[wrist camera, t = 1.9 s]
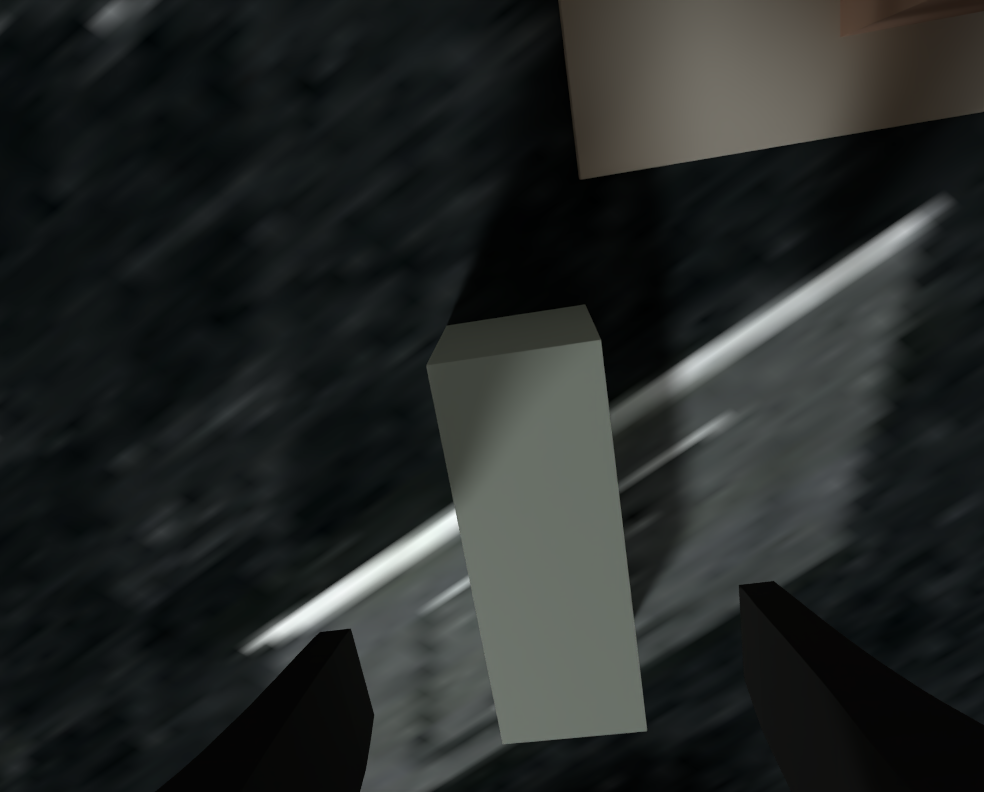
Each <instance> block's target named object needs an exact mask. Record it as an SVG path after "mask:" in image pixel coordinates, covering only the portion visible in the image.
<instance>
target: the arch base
mask: <svg viewBox="0 0 984 792" xmlns="http://www.w3.org/2000/svg"><path fill="white" fill-rule="evenodd" d="M558 3H559V12H560V20H561V29H562V37H563V46H564V54H565V63H566V71H567V80H568V88H569V97H570V106H571V114H572V123H573V131H574V140H575V148H576V157H577V165H578V174H579V179H580V180H582V179H588V178H594V177H599V176H605V175H611V174H617V173H623V172H629V171H635V170H641V169H647V168H653V167H659V166H665V165H671V164H677V163H683V162H688V161H694V160H700V159H706V158H712V157H718V156H724V155H730V154H736V153H742V152H748V151H754V150H760V149H766V148H772V147H777V146H783V145H789V144H795V143H801V142H807V141H813V140H819V139H825V138H831V137H837V136H843V135H849V134H855V133H860V132H866V131H872V130H878V129H884V128H890V127H896V126H902V125H908V124H914V123H920V122H926V121H932V120H938V119H944V118H949V117H955V116H961V115H967V114H973V113H979V112H984V0H558Z"/></svg>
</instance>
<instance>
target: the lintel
mask: <svg viewBox="0 0 984 792" xmlns="http://www.w3.org/2000/svg"><path fill="white" fill-rule="evenodd" d="M426 367H427V372H428V377H429V382H430V387H431V392H432V397H433V401H434V406H435V411H436V416H437V421H438V426H439V431H440V436H441V441H442V446H443V451H444V456H445V461H446V466H447V471H448V476H449V481H450V485H451V490H452V495H453V500H454V505H455V510H456V515H457V520H458V525H459V530H460V535H461V540H462V545H463V550H464V555H465V560H466V565H467V570H468V574H469V579H470V584H471V589H472V594H473V599H474V604H475V609H476V614H477V619H478V624H479V629H480V634H481V639H482V644H483V649H484V654H485V659H486V663H487V668H488V673H489V678H490V683H491V688H492V693H493V698H494V703H495V708H496V713H497V718H498V723H499V728H500V733H501V738H502V743H503V744H511V743H522V742H533V741H544V740H555V739H565V738H576V737H587V736H598V735H609V734H620V733H631V732H642V731H647V726H646V718H645V709H644V701H643V692H642V684H641V675H640V667H639V658H638V650H637V641H636V633H635V624H634V616H633V607H632V599H631V590H630V582H629V573H628V565H627V557H626V548H625V540H624V531H623V523H622V514H621V506H620V497H619V489H618V480H617V472H616V463H615V455H614V446H613V438H612V429H611V421H610V413H609V404H608V396H607V387H606V379H605V370H604V362H603V353H602V345H601V339H600V337H599V334H598V332H597V330H596V328H595V325H594V323H593V321H592V318H591V316H590V314H589V312H588V309H587V307H586V305H578V306H572V307H565V308H559V309H552V310H546V311H539V312H532V313H526V314H519V315H513V316H506V317H500V318H493V319H487V320H480V321H474V322H467V323H461V324H454V325H448V326H446V328H445V330H444V332H443V334H442V336H441V338H440V340H439V342H438V344H437V346H436V348H435V349H434V351H433V353H432V355H431V357H430V359H429V361H428V363H427V365H426Z"/></svg>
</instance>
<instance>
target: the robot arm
mask: <svg viewBox="0 0 984 792" xmlns="http://www.w3.org/2000/svg"><path fill="white" fill-rule="evenodd" d="M739 597H740V614H741V632H742V649H743V667H744V679H745V682H746V685H747V688H748V691H749V694H750V697H751V700H752V703H753V705H754V708H755V711H756V714H757V717H758V719H759V722H760V725H761V728H762V731H763V733H764V735H765V737H766V740H767V742H768V744H769V746H770V748H771V750H772V752H773V754H774V756H775V758H776V761H777V763H778V765H779V767H780V769H781V771H782V773H783V775H784V777H785V779H786V781H787V783H788V785H789V787H790V790H791V792H984V725H983V724H981V723H979V722H977V721H975V720H974V719H972V718H970V717H968V716H967V715H965V714H963V713H961V712H960V711H958V710H956V709H954V708H952V707H951V706H949V705H947V704H945V703H944V702H942V701H940V700H938V699H937V698H935V697H934V696H932V695H930V694H929V693H927V692H925V691H924V690H922V689H920V688H919V687H917V686H916V685H914V684H913V683H911V682H910V681H908V680H907V679H905V678H903V677H902V676H900V675H899V674H897V673H896V672H894V671H893V670H891V669H890V668H888V667H887V666H885V665H884V664H882V663H881V662H879V661H878V660H876V659H875V658H874V657H872V656H871V655H869V654H868V653H866V652H865V651H864V650H862V649H861V648H860V647H858V646H857V645H856V644H854V643H853V642H851V641H850V640H849V639H847V638H846V637H845V636H843V635H842V634H841V633H839V632H838V631H837V630H835V629H834V628H833V627H831V626H830V625H829V624H828V623H826V622H825V621H824V620H822V619H821V618H820V617H819V616H817V615H816V614H815V613H813V612H812V611H811V610H810V609H808V608H807V607H806V606H805V605H803V604H802V603H801V602H800V601H798V600H797V599H796V598H795V597H793V596H792V595H791V594H789V593H788V592H787V591H786V590H784V589H783V588H782V587H781V586H779V585H778V584H777V583H775V582H774V581H771V582H762V583H753V584H744V585H739ZM373 720H374V713H373V709H372V705H371V701H370V698H369V694H368V690H367V687H366V683H365V679H364V676H363V672H362V668H361V664H360V661H359V657H358V653H357V650H356V646H355V642H354V639H353V635H352V631H351V629H343V630H334V631H326V632H320V633H319V634H318V635H317V636H315V637H314V638H313V639H312V640H311V641H310V642H309V644H308V645H307V646H306V647H305V648H304V649H303V650H302V651H301V652H300V653H299V654H298V655H297V656H296V657H295V658H294V659H293V660H292V662H291V663H290V664H289V665H288V666H287V667H286V668H285V669H284V670H283V671H282V672H281V673H280V674H279V675H278V677H277V678H276V679H275V680H274V681H273V682H272V683H271V684H270V685H269V686H268V687H267V688H266V689H265V690H264V691H263V692H262V693H261V694H260V695H259V696H258V697H257V699H256V700H255V701H254V702H253V703H252V704H251V705H250V706H249V707H248V708H247V709H246V710H245V711H244V712H243V713H242V714H241V715H240V716H239V717H238V718H237V719H236V720H235V721H234V722H233V723H231V724H230V725H229V726H228V727H227V728H226V729H225V730H224V731H223V732H222V733H221V734H220V735H219V736H218V737H217V738H216V739H215V740H214V741H213V742H212V743H211V744H210V745H209V746H208V747H207V748H206V749H204V750H203V751H202V752H201V753H200V754H199V755H198V756H197V757H196V758H195V759H193V760H192V761H191V762H190V763H189V764H188V765H187V766H186V767H184V768H183V769H182V770H181V771H180V772H179V773H177V774H176V775H175V776H174V777H173V778H171V779H170V780H169V781H168V782H167V783H165V784H164V785H163V786H162V787H161V788H159V789H158V790H157V791H156V792H360V789H361V786H362V782H363V778H364V775H365V771H366V766H367V760H368V754H369V748H370V741H371V734H372V727H373Z"/></svg>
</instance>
